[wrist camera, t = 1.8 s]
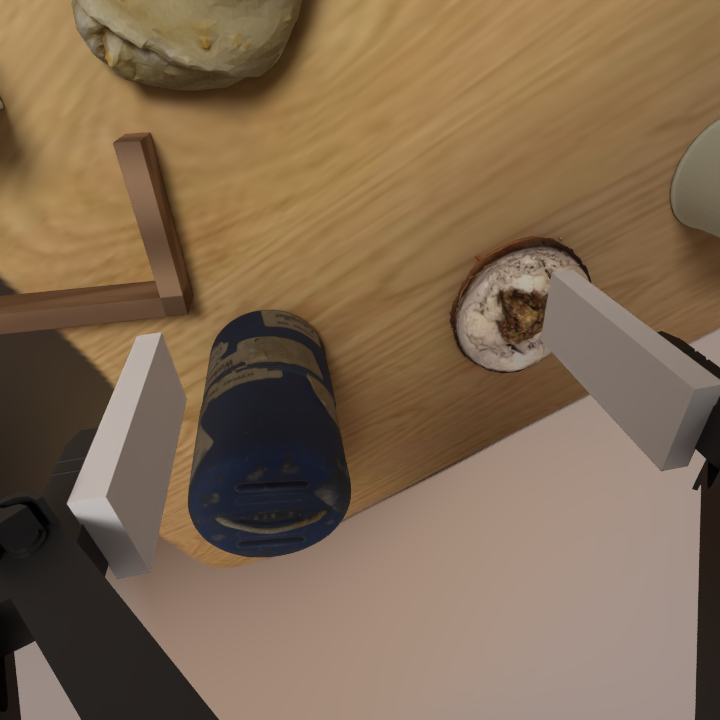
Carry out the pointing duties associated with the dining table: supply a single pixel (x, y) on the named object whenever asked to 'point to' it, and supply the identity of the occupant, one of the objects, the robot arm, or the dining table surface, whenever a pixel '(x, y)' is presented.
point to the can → (699, 183)
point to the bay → (124, 299)
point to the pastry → (187, 38)
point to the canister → (268, 441)
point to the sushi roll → (509, 303)
